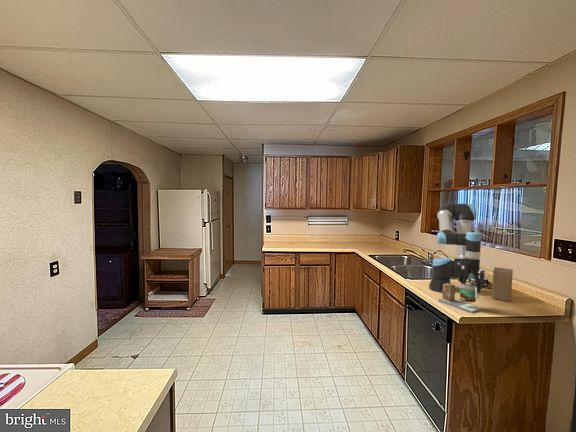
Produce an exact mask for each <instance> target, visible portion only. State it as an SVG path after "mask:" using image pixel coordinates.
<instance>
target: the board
mask: <svg viewBox="0 0 576 432" xmlns="http://www.w3.org/2000/svg"><path fill="white" fill-rule="evenodd" d="M437 302H439V303H441V304H445V305H448V306H451V307H453V308H455V309H456V308H457V309H459V310H461V311H465V312H467V313H470V314H473V313H477V312H481V311H482V307H479V306H477V305H473V304H470V303H468V302H465V301H462V300H458V299H455V301H451V302H449V301H446V300H443V299H442V298H440V299H437Z"/></svg>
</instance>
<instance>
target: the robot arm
mask: <svg viewBox="0 0 576 432" xmlns="http://www.w3.org/2000/svg"><path fill="white" fill-rule="evenodd" d="M436 217H437V219H438V223H439V232H437V234H436V242H437V244H439V245H440V244H441V245H448V246H449V245H450V246H456V256H455V257H454V259H453V260H452V259H451V258H450V257H436V258H434V259H433V260H432V273H431V275H432V277H431V280H430V282H429V284H428V288H429V290H431V291H434V292H438V293H442V292H443V284H446V283H449V284H452V282H451V278H457V279H458V282H459V283H460V284H462V285H465V284H467V280H468V279H469V280H471V279H473V278H474V283H476V286H477V287H475V298H476V299H479V298H480V296H479V295H480V294H481V291H482V288H485V287H486V282H485V273H486V270H485V269H481V267H480V265H481V264H480V263H481V259H480V258H481V249H482V248H481V247H482V234H481V232H477V231H472V224H473V223H474V221H476V220H477V209H476V206H475V205H474V204H472V203H446V204H444V205H442V206H440V207H439V209H438V210H437V212H436ZM452 220H454V222H455V223H456V224H457V225H456V226H457V227H456V232H454V231H453V229H454V228H453V224H452Z"/></svg>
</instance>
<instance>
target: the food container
mask: <svg viewBox="0 0 576 432" xmlns="http://www.w3.org/2000/svg"><path fill="white" fill-rule="evenodd" d="M475 287H477V286H476V282H473V283H466V284H465V285H462V283H459V285H458V288H459V301H461V302H465V303H476V302H477V298H475Z"/></svg>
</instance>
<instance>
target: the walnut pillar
mask: <svg viewBox="0 0 576 432" xmlns="http://www.w3.org/2000/svg"><path fill="white" fill-rule="evenodd" d="M441 295H442V296H441V299H443V300H446V301H449V302H451V301H455V300H456V299H455V298H456V285H455V284H452V283H451V284H449V283H446V284H443V292H441Z"/></svg>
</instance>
